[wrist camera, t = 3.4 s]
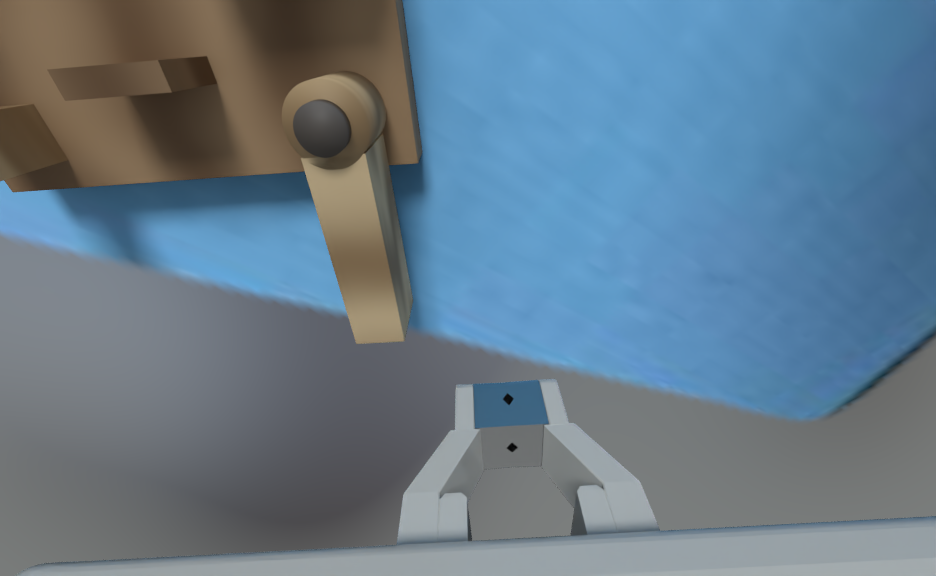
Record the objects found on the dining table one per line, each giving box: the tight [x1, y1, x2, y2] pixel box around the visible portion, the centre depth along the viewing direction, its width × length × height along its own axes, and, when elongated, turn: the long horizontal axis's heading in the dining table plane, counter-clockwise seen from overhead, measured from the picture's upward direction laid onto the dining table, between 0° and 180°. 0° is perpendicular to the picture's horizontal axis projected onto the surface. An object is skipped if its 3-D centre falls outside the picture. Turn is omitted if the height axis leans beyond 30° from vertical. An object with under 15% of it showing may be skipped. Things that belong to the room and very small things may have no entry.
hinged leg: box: [282, 71, 413, 344], centre depth 17 cm, size 12×3×4 cm, turn 4°
